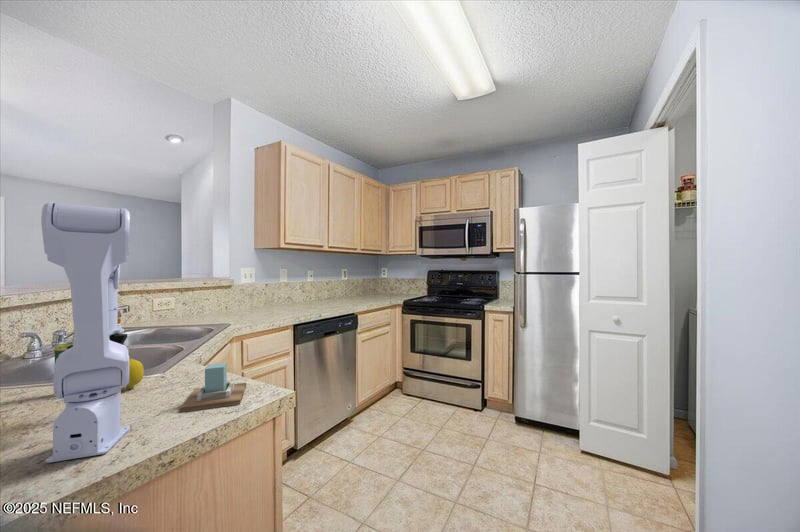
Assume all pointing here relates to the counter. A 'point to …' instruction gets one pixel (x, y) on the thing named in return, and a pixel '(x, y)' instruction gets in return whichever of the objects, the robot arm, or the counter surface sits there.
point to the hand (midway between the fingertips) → (99, 372)
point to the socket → (214, 397)
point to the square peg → (216, 377)
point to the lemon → (134, 373)
